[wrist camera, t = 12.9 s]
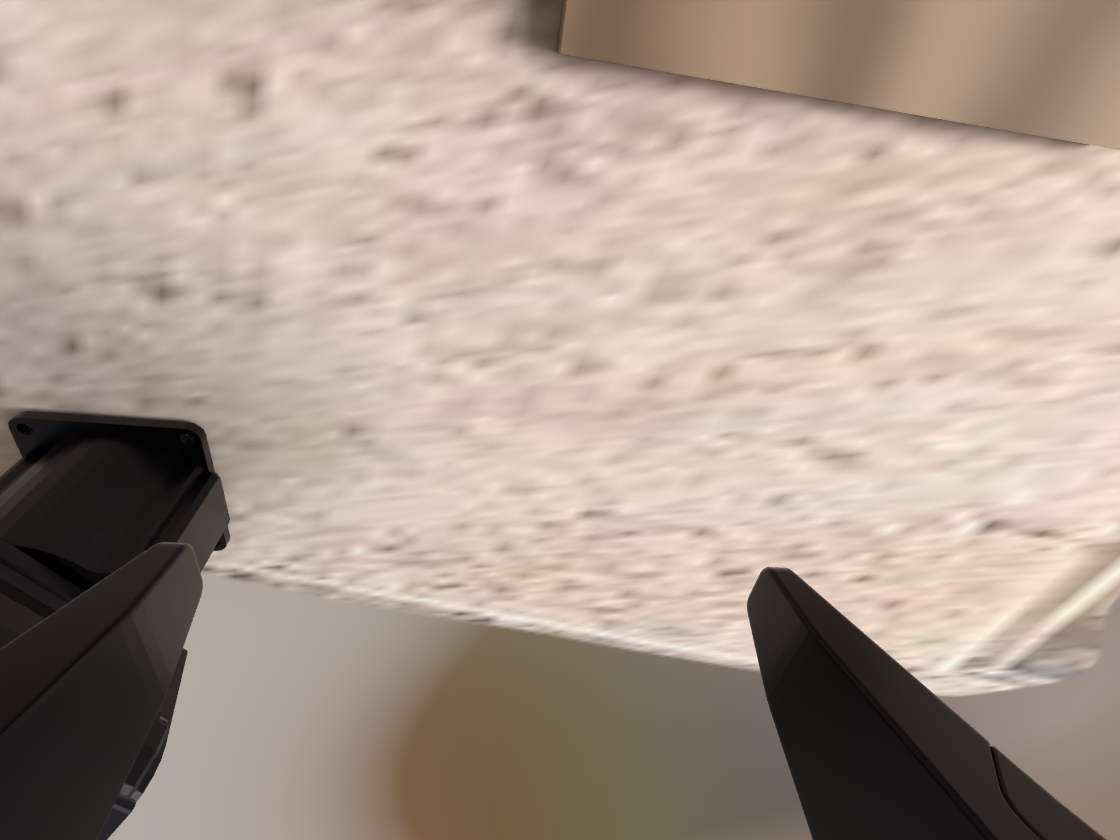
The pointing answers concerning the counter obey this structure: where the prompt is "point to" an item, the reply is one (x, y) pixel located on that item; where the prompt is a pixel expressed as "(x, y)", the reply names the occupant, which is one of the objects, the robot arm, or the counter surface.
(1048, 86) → the walnut board
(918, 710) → the robot arm
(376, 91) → the counter surface
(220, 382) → the counter surface
